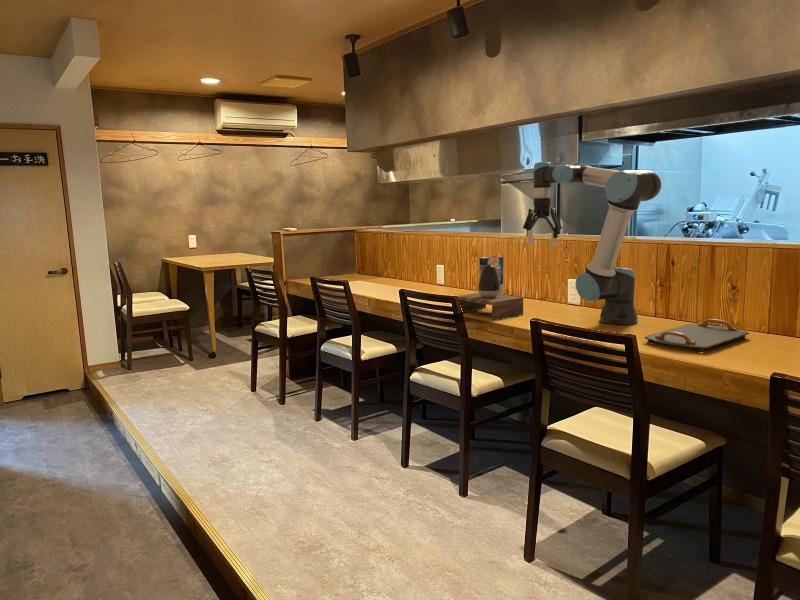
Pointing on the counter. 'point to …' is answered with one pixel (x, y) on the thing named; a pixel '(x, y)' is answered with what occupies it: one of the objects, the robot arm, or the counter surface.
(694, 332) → the serving board
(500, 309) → the walnut shelf
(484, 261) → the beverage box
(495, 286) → the black rounded dome
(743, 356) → the counter surface
